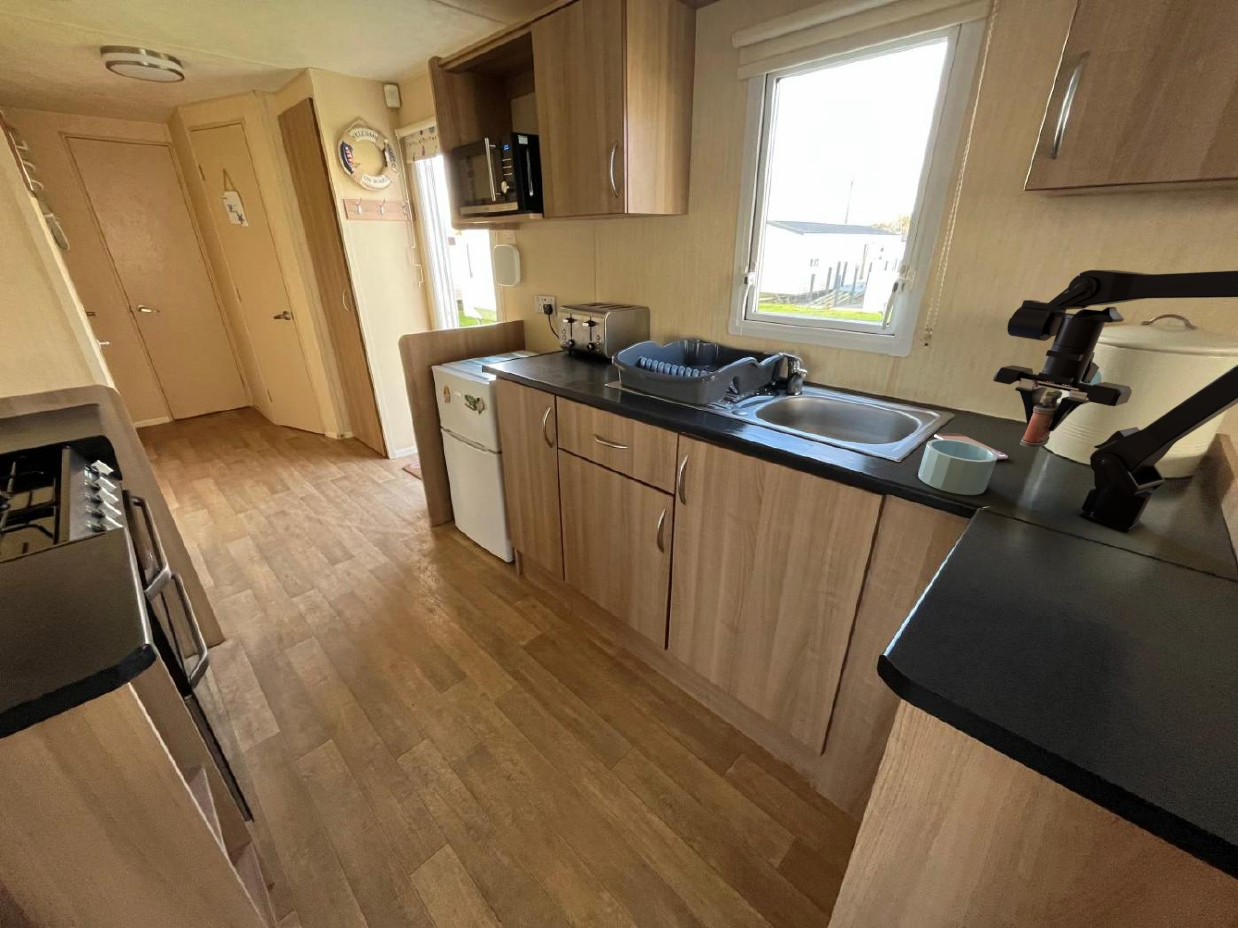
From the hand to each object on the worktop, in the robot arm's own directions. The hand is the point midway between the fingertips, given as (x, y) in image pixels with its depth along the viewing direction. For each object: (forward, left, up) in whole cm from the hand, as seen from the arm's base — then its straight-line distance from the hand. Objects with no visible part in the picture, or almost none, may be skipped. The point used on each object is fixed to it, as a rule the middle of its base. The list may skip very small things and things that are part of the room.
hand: (1040, 428), depth 93 cm
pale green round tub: (+7, +11, -12) cm, 18 cm away
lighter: (0, 0, -3) cm, 3 cm away
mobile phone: (+15, -12, -12) cm, 23 cm away
